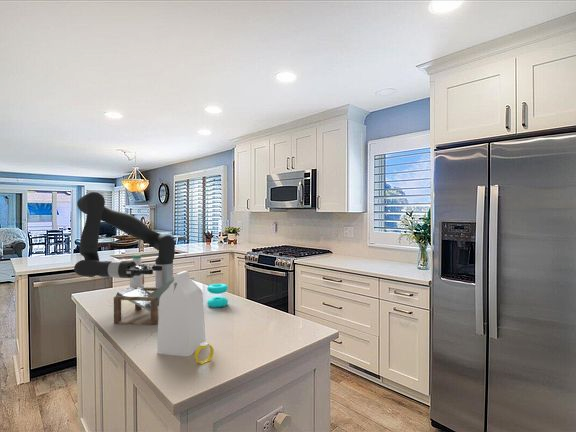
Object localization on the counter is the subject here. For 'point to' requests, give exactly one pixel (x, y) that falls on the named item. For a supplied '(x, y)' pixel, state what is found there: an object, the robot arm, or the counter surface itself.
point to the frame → (137, 310)
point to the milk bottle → (137, 280)
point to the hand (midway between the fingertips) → (157, 269)
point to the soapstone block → (161, 290)
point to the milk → (181, 317)
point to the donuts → (217, 290)
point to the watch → (202, 345)
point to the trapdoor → (137, 293)
